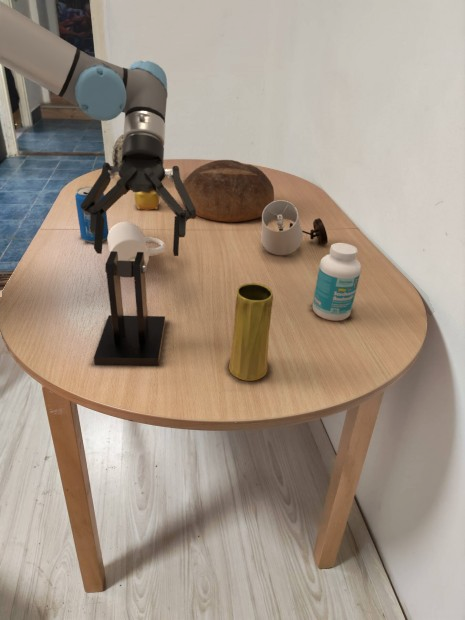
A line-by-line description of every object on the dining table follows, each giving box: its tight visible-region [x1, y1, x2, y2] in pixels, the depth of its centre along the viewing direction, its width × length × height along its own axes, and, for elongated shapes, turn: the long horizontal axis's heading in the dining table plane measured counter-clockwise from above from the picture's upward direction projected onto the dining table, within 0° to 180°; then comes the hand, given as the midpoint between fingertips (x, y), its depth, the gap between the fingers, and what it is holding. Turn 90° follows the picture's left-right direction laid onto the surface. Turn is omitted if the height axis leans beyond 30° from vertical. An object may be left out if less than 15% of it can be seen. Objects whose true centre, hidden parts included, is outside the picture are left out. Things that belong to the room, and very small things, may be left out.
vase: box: [228, 282, 274, 382], centre depth 68 cm, size 6×6×14 cm
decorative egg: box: [111, 133, 124, 177], centre depth 145 cm, size 12×12×15 cm
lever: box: [117, 256, 148, 278], centre depth 74 cm, size 13×4×4 cm, turn 2°
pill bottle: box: [311, 242, 362, 322], centre depth 84 cm, size 8×7×14 cm
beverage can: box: [74, 186, 109, 244], centre depth 107 cm, size 6×6×12 cm
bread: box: [182, 159, 275, 223], centre depth 129 cm, size 26×27×13 cm
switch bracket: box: [93, 251, 166, 366], centre depth 72 cm, size 12×10×16 cm
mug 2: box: [134, 190, 160, 211], centre depth 130 cm, size 12×7×7 cm, turn 5°
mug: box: [106, 221, 166, 265], centre depth 98 cm, size 12×10×8 cm
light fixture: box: [260, 199, 329, 256], centre depth 108 cm, size 10×16×17 cm
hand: (136, 252), depth 80 cm, fingers open, 13 cm apart
